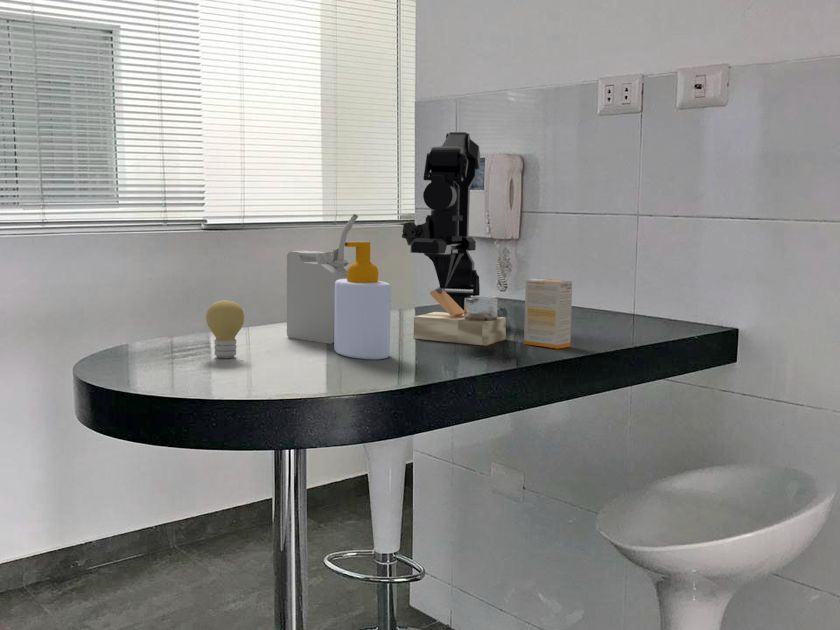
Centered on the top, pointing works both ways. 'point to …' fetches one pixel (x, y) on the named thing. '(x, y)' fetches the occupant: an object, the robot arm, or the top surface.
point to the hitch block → (458, 329)
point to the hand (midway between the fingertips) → (443, 287)
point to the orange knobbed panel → (447, 302)
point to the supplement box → (548, 312)
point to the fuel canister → (314, 291)
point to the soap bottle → (362, 309)
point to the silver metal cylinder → (480, 308)
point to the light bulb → (225, 326)
